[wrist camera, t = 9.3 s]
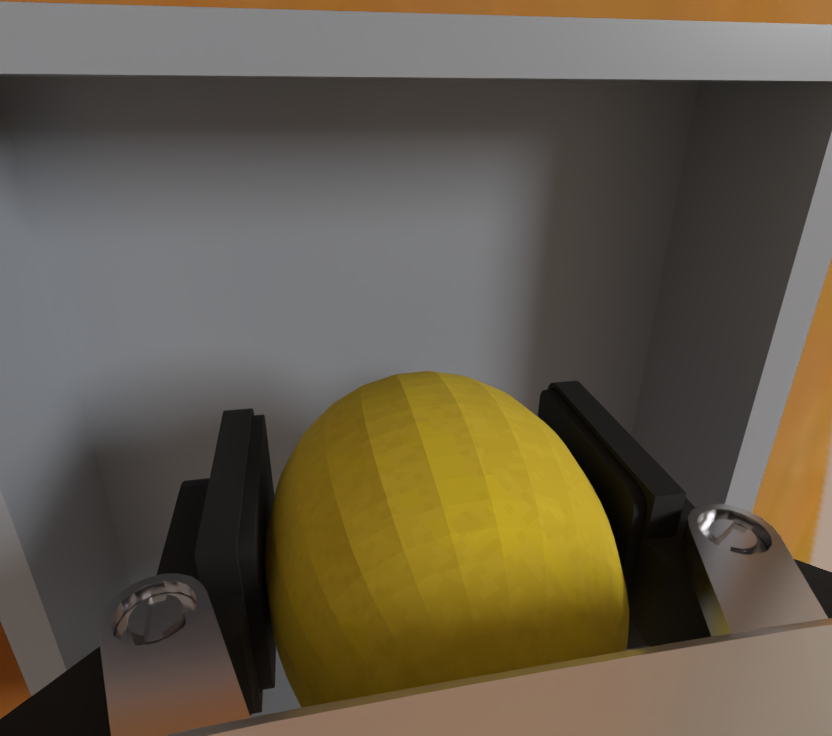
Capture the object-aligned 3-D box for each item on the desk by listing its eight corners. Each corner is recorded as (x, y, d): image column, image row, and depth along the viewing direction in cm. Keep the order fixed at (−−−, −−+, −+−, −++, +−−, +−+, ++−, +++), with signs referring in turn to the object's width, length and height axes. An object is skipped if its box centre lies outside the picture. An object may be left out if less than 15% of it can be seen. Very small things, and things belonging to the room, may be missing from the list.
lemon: (555, 428, 14) (813, 765, 7) (377, 557, 15) (455, 980, 8) (420, 256, 12) (612, 515, 5) (215, 421, 13) (119, 859, 5)
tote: (-43, 30, 11) (-258, -6, 7) (710, 45, 14) (903, 27, 10) (128, 628, 18) (76, 803, 14) (611, 560, 21) (696, 687, 16)
